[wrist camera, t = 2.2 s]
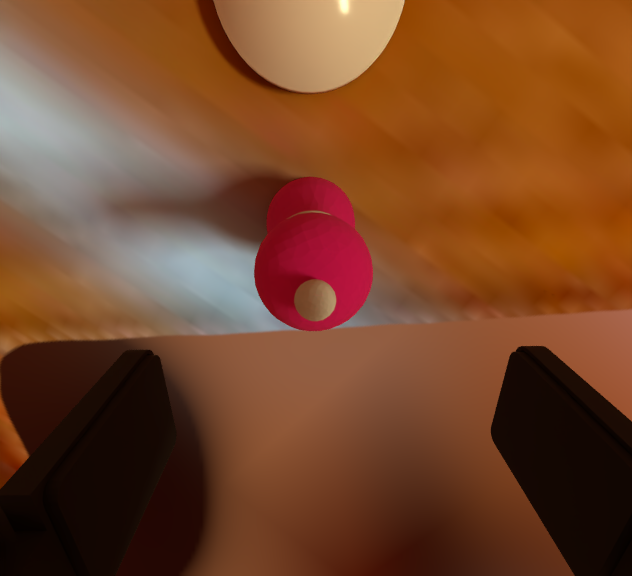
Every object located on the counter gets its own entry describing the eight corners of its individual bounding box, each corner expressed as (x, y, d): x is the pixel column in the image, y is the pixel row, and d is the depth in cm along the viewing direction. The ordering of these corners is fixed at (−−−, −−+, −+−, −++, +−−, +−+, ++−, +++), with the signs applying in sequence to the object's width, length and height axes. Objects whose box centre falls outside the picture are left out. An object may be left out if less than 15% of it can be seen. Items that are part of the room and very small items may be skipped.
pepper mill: (297, 262, 34) (287, 407, 15) (256, 199, 31) (185, 281, 13) (361, 225, 32) (434, 335, 14) (324, 156, 30) (352, 180, 12)
